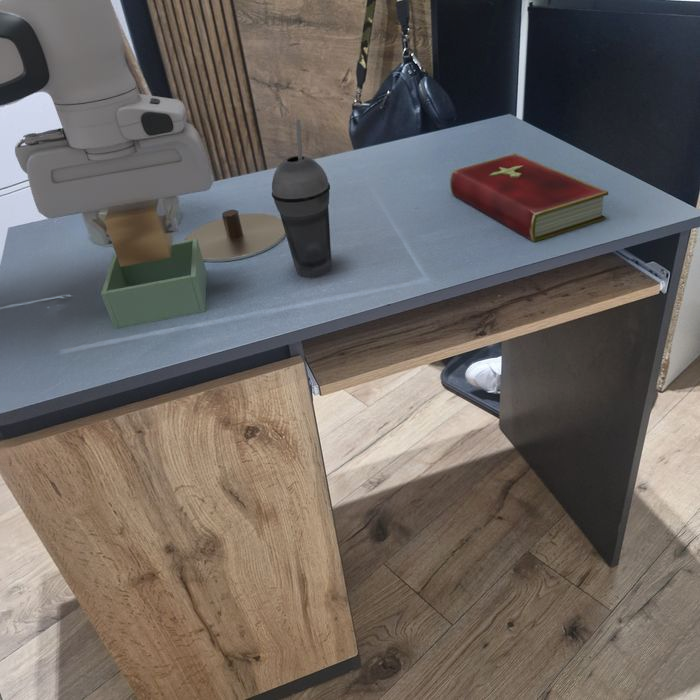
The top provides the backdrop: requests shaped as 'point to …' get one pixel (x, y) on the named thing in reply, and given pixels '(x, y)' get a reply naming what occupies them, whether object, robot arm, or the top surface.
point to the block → (139, 232)
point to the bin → (156, 287)
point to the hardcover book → (528, 196)
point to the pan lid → (237, 236)
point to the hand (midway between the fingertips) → (142, 236)
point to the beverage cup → (304, 211)
